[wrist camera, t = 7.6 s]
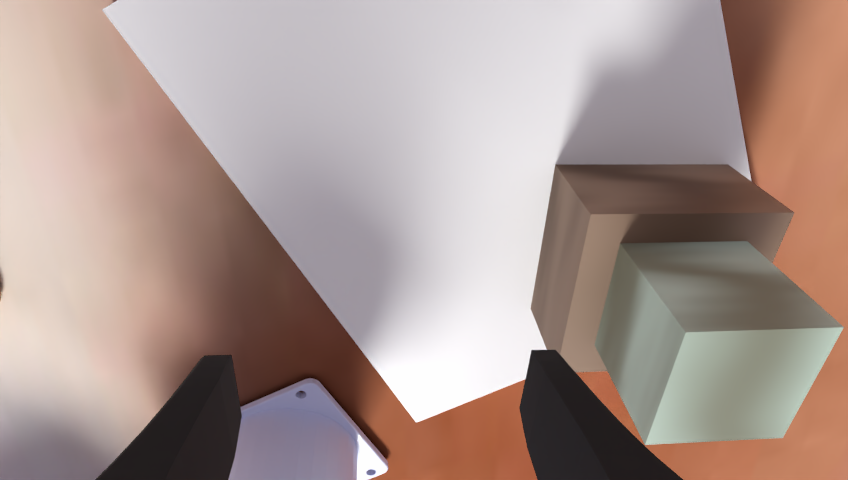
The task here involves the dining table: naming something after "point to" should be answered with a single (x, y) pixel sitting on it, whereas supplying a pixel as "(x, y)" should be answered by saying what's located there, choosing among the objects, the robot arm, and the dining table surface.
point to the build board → (435, 147)
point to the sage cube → (710, 341)
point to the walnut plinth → (634, 235)
